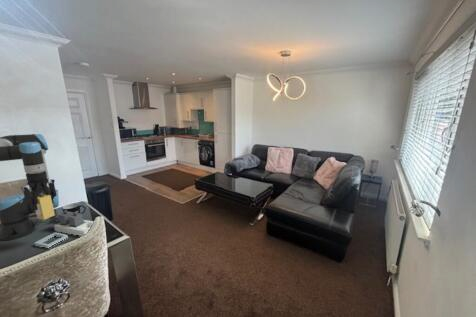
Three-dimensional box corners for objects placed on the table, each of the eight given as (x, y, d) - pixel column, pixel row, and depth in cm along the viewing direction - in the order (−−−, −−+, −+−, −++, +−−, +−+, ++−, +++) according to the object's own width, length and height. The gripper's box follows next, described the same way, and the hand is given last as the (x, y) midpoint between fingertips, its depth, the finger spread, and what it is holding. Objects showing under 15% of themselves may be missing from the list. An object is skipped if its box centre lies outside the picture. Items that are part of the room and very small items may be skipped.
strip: (55, 231, 121) (51, 213, 119) (72, 222, 131) (68, 206, 128) (84, 237, 116) (81, 219, 113) (100, 228, 125) (97, 211, 122)
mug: (66, 224, 129) (63, 210, 127) (63, 219, 135) (61, 206, 132) (88, 217, 138) (86, 204, 136) (85, 213, 144) (82, 200, 141)
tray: (35, 245, 108) (34, 242, 107) (55, 235, 117) (54, 232, 117) (48, 248, 105) (47, 245, 105) (68, 237, 115) (67, 234, 114)
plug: (37, 218, 106) (31, 194, 103) (48, 214, 111) (43, 191, 108) (44, 219, 105) (38, 195, 102) (54, 215, 110) (49, 191, 107)
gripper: (18, 177, 93) (29, 221, 98) (60, 167, 110) (68, 205, 115) (7, 176, 95) (19, 219, 100) (50, 166, 112) (58, 204, 117)
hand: (45, 212), depth 107 cm, fingers closed on plug, 5 cm apart
